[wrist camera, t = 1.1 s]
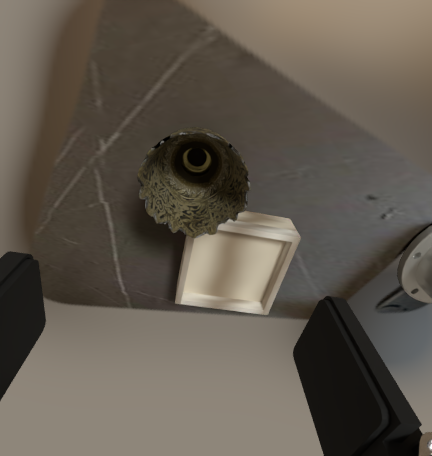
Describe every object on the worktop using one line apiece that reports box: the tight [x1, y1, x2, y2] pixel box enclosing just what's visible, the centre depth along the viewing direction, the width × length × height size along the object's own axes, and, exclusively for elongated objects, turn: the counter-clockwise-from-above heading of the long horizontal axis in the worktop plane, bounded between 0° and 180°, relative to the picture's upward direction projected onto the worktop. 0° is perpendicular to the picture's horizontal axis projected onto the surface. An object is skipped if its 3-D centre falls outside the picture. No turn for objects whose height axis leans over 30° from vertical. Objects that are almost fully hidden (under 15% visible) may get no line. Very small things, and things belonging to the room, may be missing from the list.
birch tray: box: [175, 211, 301, 315], centre depth 29 cm, size 10×10×4 cm
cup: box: [138, 127, 251, 238], centre depth 22 cm, size 8×7×8 cm
